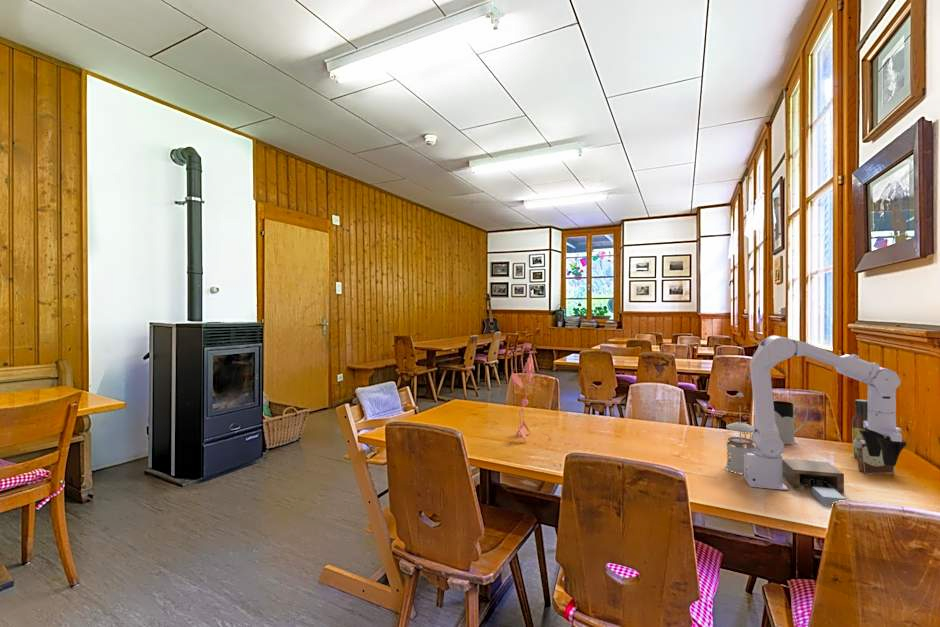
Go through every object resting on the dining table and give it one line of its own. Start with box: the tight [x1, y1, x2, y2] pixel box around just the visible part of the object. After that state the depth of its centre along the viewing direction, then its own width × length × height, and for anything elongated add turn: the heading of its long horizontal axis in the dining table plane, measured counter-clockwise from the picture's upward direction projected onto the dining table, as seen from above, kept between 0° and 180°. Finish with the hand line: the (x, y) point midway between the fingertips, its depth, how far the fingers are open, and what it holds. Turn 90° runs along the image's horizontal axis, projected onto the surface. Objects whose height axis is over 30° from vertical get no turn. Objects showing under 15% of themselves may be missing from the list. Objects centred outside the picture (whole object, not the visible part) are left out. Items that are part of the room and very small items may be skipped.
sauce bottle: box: [851, 399, 868, 459], centre depth 153 cm, size 7×6×20 cm
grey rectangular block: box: [811, 486, 847, 507], centre depth 121 cm, size 5×7×2 cm
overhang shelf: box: [782, 458, 845, 494], centre depth 132 cm, size 12×10×6 cm
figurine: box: [511, 353, 536, 441], centre depth 183 cm, size 15×26×35 cm, turn 163°
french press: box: [724, 392, 756, 474], centre depth 145 cm, size 10×12×25 cm
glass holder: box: [773, 400, 809, 445], centre depth 174 cm, size 9×14×15 cm, turn 88°
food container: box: [852, 437, 895, 475], centre depth 142 cm, size 12×6×10 cm, turn 92°
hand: (881, 460), depth 122 cm, fingers open, 7 cm apart
